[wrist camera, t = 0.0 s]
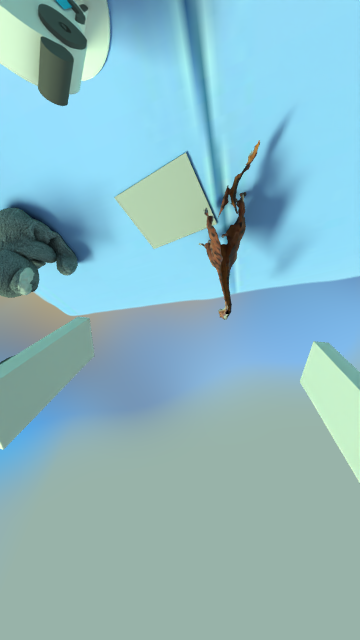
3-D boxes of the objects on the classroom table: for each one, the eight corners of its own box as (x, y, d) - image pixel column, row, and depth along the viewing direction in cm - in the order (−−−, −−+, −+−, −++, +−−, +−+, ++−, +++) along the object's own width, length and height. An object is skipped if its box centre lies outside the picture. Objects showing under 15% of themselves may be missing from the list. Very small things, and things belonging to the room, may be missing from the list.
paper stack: (231, 254, 51) (231, 256, 50) (150, 279, 63) (150, 281, 63) (186, 150, 34) (185, 152, 34) (89, 212, 46) (88, 213, 46)
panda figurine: (130, -10, 22) (74, -3, 15) (100, 107, 31) (55, 150, 23) (-2, -167, 17) (-194, -280, 10) (6, 25, 26) (-93, 46, 18)
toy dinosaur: (197, 277, 56) (207, 325, 48) (200, 135, 30) (222, 188, 22) (228, 273, 56) (243, 320, 48) (258, 128, 30) (299, 179, 23)
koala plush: (33, 261, 63) (-5, 315, 54) (-21, 203, 48) (-88, 262, 38) (84, 263, 61) (54, 319, 51) (45, 201, 46) (-9, 265, 36)
